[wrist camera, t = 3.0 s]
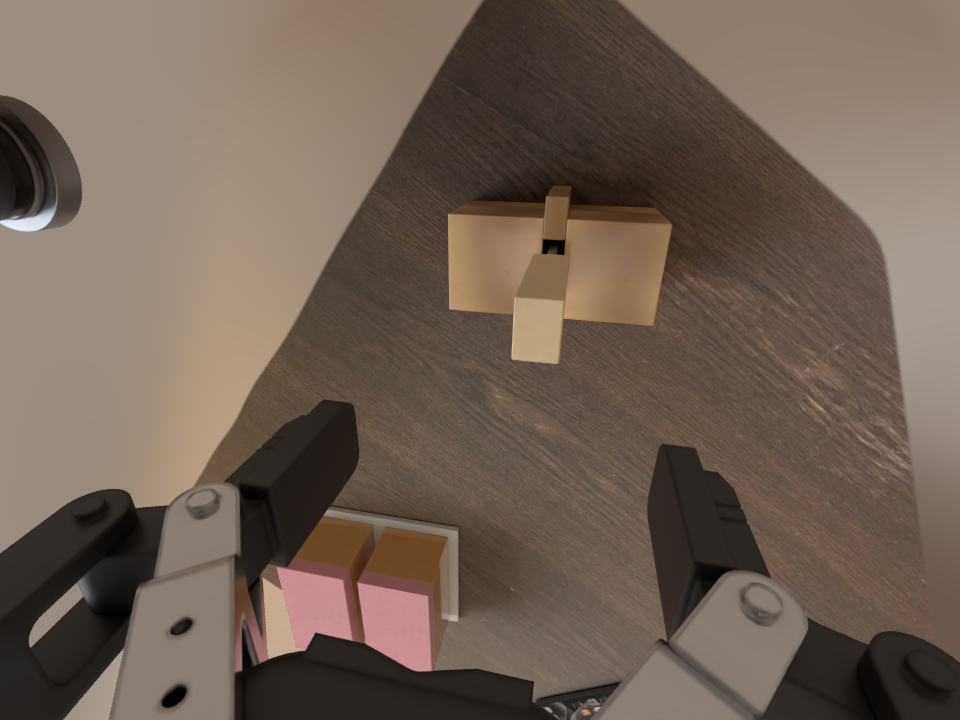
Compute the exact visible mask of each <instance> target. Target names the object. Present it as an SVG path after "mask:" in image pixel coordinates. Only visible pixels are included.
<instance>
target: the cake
mask: <svg viewBox="0 0 960 720" xmlns="http://www.w3.org/2000/svg"><path fill="white" fill-rule="evenodd" d="M277 570H278V574H279V578H280V583H281V587H282V591H283V595H284V599H285V603H286V607H287V611H288V615H289V620H290V624H291V628H292V632H293V636H294V640H295V644H296V647H297V648H302V649H307V647H308V645H309V643H310V641H311V640H312V638H313V636H314V634H315V632H316V633H320V634H325V635H329V636H334V637H338V638H342V639H347V640H351V641H356V642H360V643H364V641H366V644H367V645H369V646H371V647H372V648H374V649H376V650H378V651H379V652H381V653H383V654H385V655H386V656H388V657H390V658H392V659H393V660H395V661H397V662H399V663H400V664H402V665H404V666H406V667H407V668H409V669H411V670H414V671H434V669H435V665H436V661H437V658H438V654H439V651H440V647H441V644H442V640H443V636H444V633H445V629H446V626H447V622H448V620H450V621H455V622H458V621H459V527H454V526H448V525H441V524H435V523H429V522H423V521H417V520H411V519H405V518H399V517H393V516H386V515H380V514H374V513H368V512H362V511H356V510H350V509H344V508H337V507H331V506H330V507H329V509H328V510H327V511H326V513H325V514H324V516H323V517H322V518H321V520H320V521H319V523H318V524H317V526H316V527H315V528H314V530H313V531H312V533H311V534H310V536H309V537H308V538H307V540H306V541H305V543H304V544H303V546H302V547H301V548H300V550H299V551H298V553H297V554H296V556H295V557H294V558H293V560H292V561H291V563H290V564H289V566H288V567H287V568H286V567H281V566H277Z"/></svg>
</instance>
